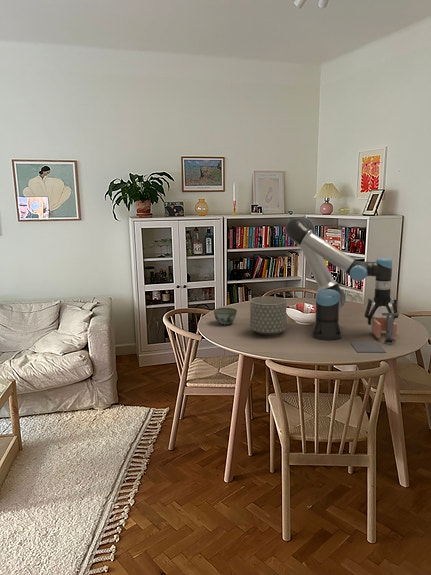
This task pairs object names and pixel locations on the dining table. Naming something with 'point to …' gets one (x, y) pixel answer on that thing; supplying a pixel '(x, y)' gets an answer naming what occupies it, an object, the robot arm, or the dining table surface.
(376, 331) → the c link
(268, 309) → the planter
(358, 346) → the mat
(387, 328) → the stand
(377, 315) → the cup
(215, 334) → the dining table surface
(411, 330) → the dining table surface
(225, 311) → the bowl
